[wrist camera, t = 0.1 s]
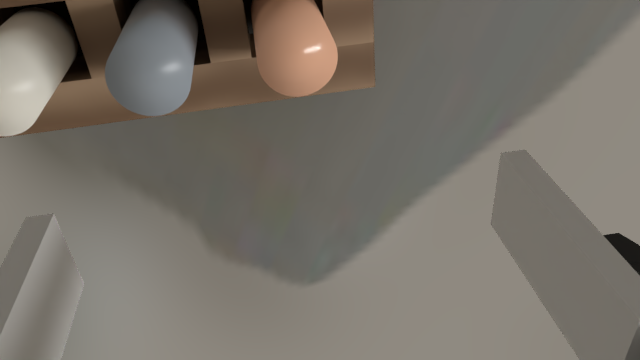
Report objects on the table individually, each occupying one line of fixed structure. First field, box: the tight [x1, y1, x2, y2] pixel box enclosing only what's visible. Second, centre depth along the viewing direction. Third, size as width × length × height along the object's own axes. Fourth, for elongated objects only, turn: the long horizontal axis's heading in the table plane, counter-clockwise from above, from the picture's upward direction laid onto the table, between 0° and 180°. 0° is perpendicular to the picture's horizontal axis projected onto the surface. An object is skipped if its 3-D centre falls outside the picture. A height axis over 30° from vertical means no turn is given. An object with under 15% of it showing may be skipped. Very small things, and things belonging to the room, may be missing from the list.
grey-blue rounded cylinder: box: [105, 0, 198, 116], centre depth 32 cm, size 4×4×9 cm
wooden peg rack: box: [0, 0, 375, 138], centre depth 37 cm, size 12×28×5 cm, turn 95°
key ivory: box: [0, 7, 78, 136], centre depth 32 cm, size 4×4×9 cm
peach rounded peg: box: [251, 0, 338, 97], centre depth 33 cm, size 4×4×9 cm
